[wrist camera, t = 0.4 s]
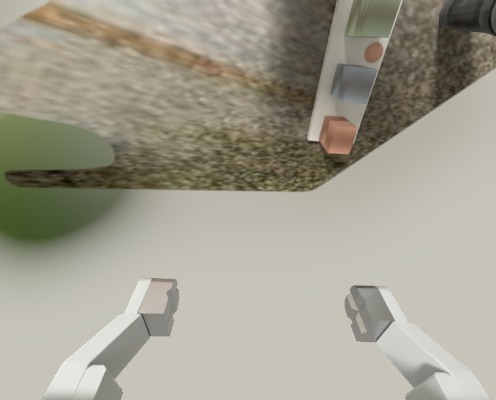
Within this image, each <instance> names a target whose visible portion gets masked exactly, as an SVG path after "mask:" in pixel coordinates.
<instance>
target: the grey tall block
mask: <svg viewBox="0 0 496 400" xmlns="http://www.w3.org/2000/svg"><path fill="white" fill-rule="evenodd" d="M377 71H378V69H373V68H369V67H365V66H360V65H349V64H337V68H336V72H335V76H334V80H333V84H332V88H331V92H330V94H331V95H332V96H334V97H335V98H337V99H338V100H340V101H341V102H346V103H360V104H366V103H367V100H368V97H369V94H370V91H371V88H372V85H373V82H374V79H375V76H376V73H377Z"/></svg>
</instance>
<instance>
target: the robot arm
mask: <svg viewBox="0 0 496 400" xmlns="http://www.w3.org/2000/svg"><path fill="white" fill-rule="evenodd" d="M176 287H177V281H176V279H157V278H141V279H140V280H139V282H138V284H137V286H136V288H135V291H134V293H133V295H132V297H131V300H130V302H129V304H128V306H127V308H126V311H125V313H121V314H119V315H118V316H117V317H116V318H115V319H113V320H112V321H111V322H110V323H109V324H108V325H106V326H105V327H104V328H103V329H102V330H101V331H100V332H99V333H97V334H96V335H95V336H94V337H92V338H91V340H89V341H88V342H87V343H85V345H83V346H82V347H81V348H80V349H78V350H77V351H76V352H75V353H74V354H73V355H72V356H70V357H69V358H68V359H67V360H66V361H65V362H63V364H62V365H61V367H60V369H59V370H58V372H57V374H56V376H55V377H54V379H53V381H52V383H51V384H50V386H49V388H48V390H47V391H46V393H45V395H44V396H43V398H42V400H121V397H122V394H123V392H122V389H121V388H120V387H119V385H118V384H117V382H116V381H115V380H114V379H115V378H116V377H117V376H118V375H119V374H120V372H121V371H122V370H123V369H124V368H125V366H126V365H127V364H128V363H129V362H130V361H131V359H132V358H133V357H134V356H135V355H136V353H137V352H138V351H139V350H140V349H141V347H142V346H143V345H144V344H145V343H146V342H147V340H148V339H149V338H150V336H170V333H171V329H172V326H173V322H174V320H173V314H174V313H175V312H176V311H177V306H178V301H179V290H178V289H177V288H176ZM350 292H351V293H350V294H349V295H347V296H346V299H345V310H346V313H347V316H348V317H349V318H350V319H351V320H352V325H351V327H352V330H353V332H354V335H355V338H356V341H362V342H376V345H377V346H378V347H379V348H380V349H381V351H382V352H383V353H384V354H385V355H386V356H387V357H388V359H389V360H390V361H391V362H392V363H393V364H394V365H395V367H396V368H397V369H398V370H399V371H400V372H401V373H402V375H403V376H404V377H405V378H406V379H407V380H408V381H409V383H410V384H411V385H412V386H413V387H414V389H413V390H411V391H410V392H409V393H407V394H406V397H405V398H406V400H491V399H490V398H489V396H488V395H487V393H486V392H485V391H484V389H483V388H482V386H481V385H480V383H479V382H478V380H477V379H476V377H475V376H474V374H473V373H472V372H471V371H470V370H469V369H468V368H466V367H465V366H464V365H462V364H461V363H460V362H459V361H458V360H457V359H455V358H454V357H453V356H452V355H451V354H449V353H448V352H447V351H446V350H445V349H443V348H442V347H441V346H440V345H438V344H437V343H436V342H435V341H434V340H432V339H431V338H430V337H429V336H427V335H426V334H425V333H424V332H423V331H421V330H420V329H419V328H418V327H417V326H415V325H414V324H413V323H412V322H408V321H407V319H406V318H405V316H404V314H403V313H402V311H401V309H400V307H399V306H398V304H397V302H396V300H395V299H394V297H393V295H392V293H391V292H390V290H389V289H388V288H387V287H384V286H352V287H351V289H350Z"/></svg>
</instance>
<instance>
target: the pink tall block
mask: <svg viewBox="0 0 496 400" xmlns="http://www.w3.org/2000/svg"><path fill="white" fill-rule="evenodd" d="M357 129H358V128H357V127H356V126H355V125H354V124H352V123H351V122H350V121H349V120H347V119H346V118H345V117H338V116H324V120H323V124H322V128H321V132H320V136H319V141H320V142H321V144H322V145H323V147H324V148H325V149H326V151H327V152H328V153H334V154H349V153H350V150H351V147H352V144H353V141H354V138H355V135H356V132H357Z"/></svg>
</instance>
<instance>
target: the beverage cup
mask: <svg viewBox="0 0 496 400" xmlns="http://www.w3.org/2000/svg"><path fill="white" fill-rule="evenodd" d="M439 21H440V25H441V26H442V27H444V28H449V29H452V30H462V31H472V32H483V33H488V34H491V35H494V36H496V0H448V1H447V2H446V3H445V4H444V6H443V8H442V10H441V13H440V17H439Z"/></svg>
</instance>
